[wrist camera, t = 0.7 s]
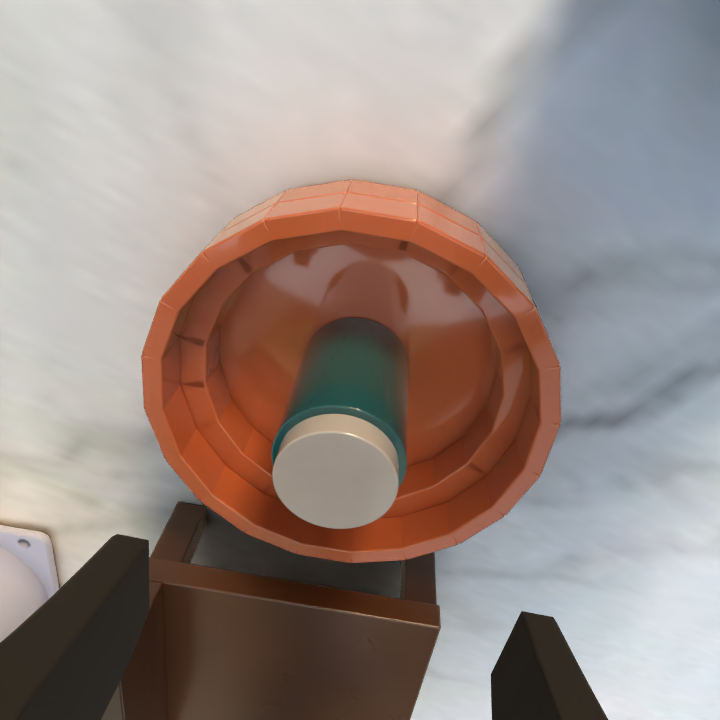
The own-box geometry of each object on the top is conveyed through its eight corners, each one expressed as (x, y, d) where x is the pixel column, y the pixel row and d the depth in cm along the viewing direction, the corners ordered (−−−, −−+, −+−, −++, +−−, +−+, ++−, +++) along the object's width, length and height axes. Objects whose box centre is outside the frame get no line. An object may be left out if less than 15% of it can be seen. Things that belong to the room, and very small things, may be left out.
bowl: (184, 465, 23) (149, 530, 20) (181, 147, 17) (130, 172, 14) (487, 515, 23) (498, 588, 20) (590, 214, 17) (628, 254, 14)
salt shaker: (298, 399, 21) (260, 522, 16) (308, 308, 19) (268, 413, 14) (398, 416, 21) (393, 545, 16) (418, 326, 19) (418, 438, 14)
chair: (178, 659, 30) (112, 836, 23) (175, 499, 24) (87, 671, 18) (392, 694, 30) (386, 881, 23) (437, 542, 24) (445, 730, 18)
